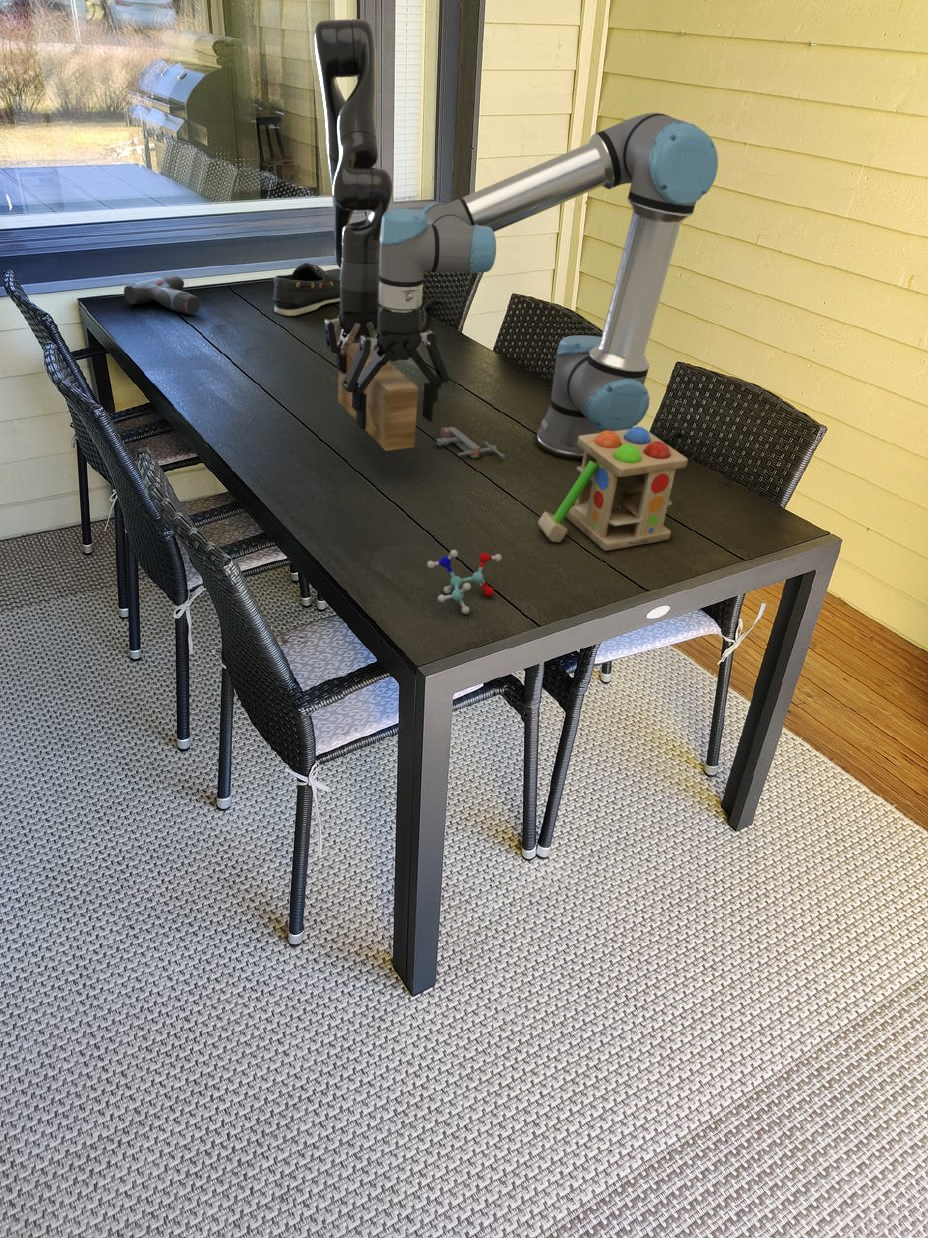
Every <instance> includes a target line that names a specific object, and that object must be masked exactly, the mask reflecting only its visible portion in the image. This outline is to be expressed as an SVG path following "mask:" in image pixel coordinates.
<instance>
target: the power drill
mask: <svg viewBox="0 0 928 1238" xmlns="http://www.w3.org/2000/svg"><path fill="white" fill-rule="evenodd" d="M184 287H185V281H184V279H183V278H181V277H180V276H179V275H171V276H167V277H166V276H165V277H155V278H152V279H147V280H144V281H139V282H136V283H132V284H131V283H130V284H128V285H126V286H124V289H123V296H124V298H125V299H124V300H125V301H126V302H127V303H128V304H129V305H131V306H132V305H139V304H144V303H148V302H152V301H155V302H157V303H158V304H159V305H160V306H163V307H165V308H168V309H170V310H172V311H175V312H178V313H180V314H184V315H191V316H193V315H196V314H197V313H198V312H199V310H200V307H201V302H200V299H199V298H198V297H197V296H195V295H194V294H191V293H189V292H186V291H183V289H184Z"/></svg>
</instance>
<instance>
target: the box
mask: <svg viewBox="0 0 928 1238" xmlns="http://www.w3.org/2000/svg"><path fill="white" fill-rule="evenodd" d="M358 348H359V343H353V344H351V346H349V348H348V350H347V353H346V356H347V366H346V374H347V372H348V370H349V367H350V365H351V363H352V361H353V359H354V357H355V354H356V352H357V350H358ZM375 352H376V350H375V349H373V350H370V354H369V357H368V359H367V361H366V363H365V366H364V368H363V370H364V369H365V367H366V366H367V365H368V363H369V362H370V361H371V359H372V358H373V355H374V353H375ZM381 357H382V356H381ZM363 370H362V371H363ZM361 373H362V372H361ZM346 374H342V373H341V372H340V371H339V370H338V369H337V375H338V376H337V402H338V403H339V404H340V405H341V406H342V407H343V409H345V410H346V412H347V413H348V414H350V416H351V417H352V418H353V419H354V420H355V421H356V412H357V411H355V410H354V409H353V407H352V392H348V391H347V390H346V389H345V388H344V387H343V386H342V383H343V380H344V378H345V376H346ZM364 393H365V394H366V395H367V400H366V429H364V430H365V431H366V432H367V433H368V434H369V435H370V436H371V437H372V438H373V439H374V441H376V443H377V444H378V445H379V446H380V447H381V448H382V449H383V450H384V451H385V452H388V451H395V450H402V449H411V448H415V445H416V444H415V443H416V429H417V428H416V427H417V414H418V413H417V411H418V396H419V386H417V385H416V384H415V383H414V382H413V381H411V379H409V378H408V377H407V376H406V375H404V373H402V372H401V371H400V370H399V369H398V368H397V367H396V366H394V365H393V364H392V363H391V362H390V361H388V362H387V364H386V365H384V366H383V367H382V368H381V369H380V370H379V372H378V373H377V374H376V376H375V377H374V378H373V380H372V381H371V382H370V384H369V385H368V386H367V388H366V389H365V390H364Z"/></svg>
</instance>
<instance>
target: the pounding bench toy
mask: <svg viewBox="0 0 928 1238" xmlns="http://www.w3.org/2000/svg"><path fill="white" fill-rule="evenodd" d="M657 437H658V436H657V435H654V434H653V433H652V432H650V431H649V430H648V429H647V428H645V427H643V426H633V427H632V428H630V429H627V430H619V431H609V430H607V431H603V432H601V433H596V434H588V435H581V436H579V437H578V443H577V445H578V446H579V447H580V448H582V449H583V450H584V456H583V460H582V462H581V466H580V465H579V466H578V465H577V466H576V471H577V470H578V471H579V472H580V474H579V477H578V478H577V480H576V481H575V483H574V484H573V486H572V487H571V489H570V490H569V492H568V493H567V495H566V496H565V498H564V499H563V501H562V503H561V504H560V506H559V507H558V509H557V510H556V512H555V514H552V513H550V512H548V511H544V512H543V513H542V515H541V516H540V518H539V519H538V520H537V525H538V526H539V527H540V530H542V532H543V533H544V535H545V536H546V537H547V538H548V540H549V541H551V542H553V543H561V542H562V541H563V539H564V538H565V536H566V535H567V533H568V531H569V530H568V528H567V527H566V526H565V524H564V523H563V521H564V520H565V518H566V519H567V520H568V521H569V522H570V523H572V524H573V525H574V526H575V527H576V528H577V529H579V530H580V531H581V532H582V533H583V534H585V535H586V536H587V537H588V538H589V539H590V540H591V541H593V542H594V543H595V544H596V545H597V546H599V547H600V548H601V549H602V550H603V551H605V552H609V551H614V550H619V549H625V548H629V547H636V546H641V545H647V544H648V545H649V544H652V543H657V542H658V543H659V542H663V541H669V540H670V538H671V534H672V531H671V530H670V529H669V528H667V527H666V526H665V525H664V524H665V519H666V515H667V511H668V507H669V506H671V505H673V501H672V500H670V498H671V497H670V496H671V492H672V487H673V483H674V478H675V475H676V470H677V469H684V468H686V467H687V465H688V462H689V461H688V460H689V459H688V458H687V457H686V456H684V455H683V454H681V453H680V452H678V451H677V450H676V449H674V448H673V447H672V446H670V445H668V444H667V443H666V442H665V441H661V440H660V439H658V438H657Z"/></svg>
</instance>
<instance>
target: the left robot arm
mask: <svg viewBox="0 0 928 1238" xmlns="http://www.w3.org/2000/svg"><path fill="white" fill-rule="evenodd" d="M314 51H315V58H316V67H317V72H318V79H319V85H320V91H321V97H322V104H323V105H322V106H323V113H324V124H325V125H324V126H325V141H326V142H325V143H326V154H327V163H328V173H329V179H330V189H331V197H332V208H333V242H334V243H333V244H334V257H335V261H336V265H337V267H338V269H341V270H340V301H339V313H338V316H337V318H333V319H328V318H324V320H323V326H324V328H323V329H324V334H325V341H326V348H327V349H328V350H329V351H330V352H331V353H332V354H336V368H337V371H338V370H339V371H340V372H341V373H342V374H346V366H347V356H346V353H347V350H348V348H349V346H351V344H353V343H359V340H360V336H361V335H365V336H366V337H376V335H377V332H378V326H377V323H378V307H379V306H380V304H379V302H378V293H379V276H380V275H379V274H380V235H381V224H382V217H383V214H384V213H385V212H386V211H388V210H389V208H390V205H391V202H392V199H393V195H394V194H393V193H394V182H393V180H392V177H391V174H390V173H389V172H388V171H387V170H385V169H384V168H380V167H379V168H378V167H375V165H376V164H377V162H378V160H379V155H380V153H379V152H380V151H379V144H378V143H379V142H378V134H377V123H376V102H377V48H376V39H375V33H374V29H373V27H372V24H371V23H370V22H369V21H368V20H366V19H361V18H355V19H354V18H353V19H352V18H351V19H329V20H328V19H327V20H320V21H318V23H316V26H315V28H314ZM354 77H355V78H356V77H357V78H358V80H357V82H356V84H355V86H354V88H353V89H352V91H351V93H350V94H349V95H348V97H347V99H345V97H344V95H343V93H342V90H341V89H340V86H339V84H338V81H337V78H354ZM354 211H357V212H361V211H362V212H370V213H369V215H368V216H367V217H366V218H365V219H363V220H361V221H356V222H352V216H353V214H354ZM437 299H438V298H437V297H435V298H431V299H429V300H428V301H427V302H425V304H424V305H423V306H421V307H422V308H421V313H422V314H423V323H421V328H420V333H423V331H424V330H425V328H426V327H427V324H428V314H427V311H426V309H427V308H428V307H429V306H430V305H432V304H433V303H436V304H438V305H440V304H441V301H440V300H439V301H437ZM436 301H437V302H436ZM339 326H340V335H339V340H338V341H337V337H336V336H337V335H336V332H338V327H339ZM373 349H375V350H377V349H378V346H377V345H374V347H373ZM382 356H383V355H382Z"/></svg>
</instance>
